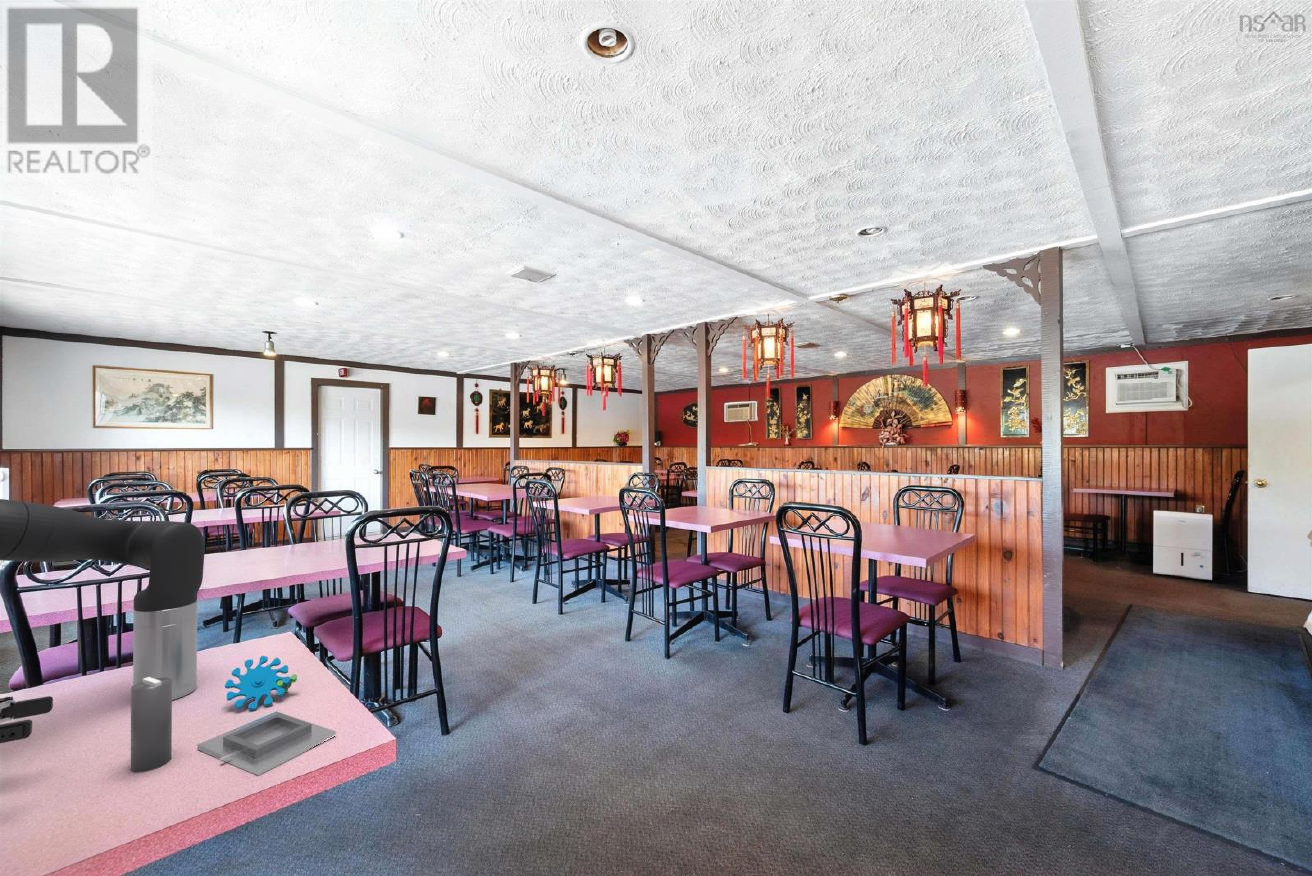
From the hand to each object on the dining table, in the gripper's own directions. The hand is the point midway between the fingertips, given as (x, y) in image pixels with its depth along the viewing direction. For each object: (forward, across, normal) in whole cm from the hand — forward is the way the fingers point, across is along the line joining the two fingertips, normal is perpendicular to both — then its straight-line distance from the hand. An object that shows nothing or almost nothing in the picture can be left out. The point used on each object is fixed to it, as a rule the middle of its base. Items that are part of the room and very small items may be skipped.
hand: (42, 715), depth 78 cm
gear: (+25, +15, +10) cm, 31 cm away
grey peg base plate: (+26, -3, +10) cm, 28 cm away
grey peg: (+12, 0, +10) cm, 16 cm away
